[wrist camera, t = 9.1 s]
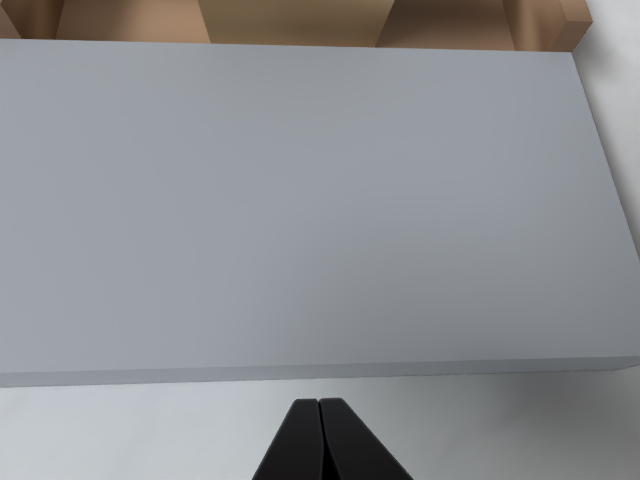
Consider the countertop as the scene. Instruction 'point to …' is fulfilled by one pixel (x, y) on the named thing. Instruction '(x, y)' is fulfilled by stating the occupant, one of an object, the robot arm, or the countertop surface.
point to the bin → (398, 32)
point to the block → (295, 22)
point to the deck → (303, 215)
